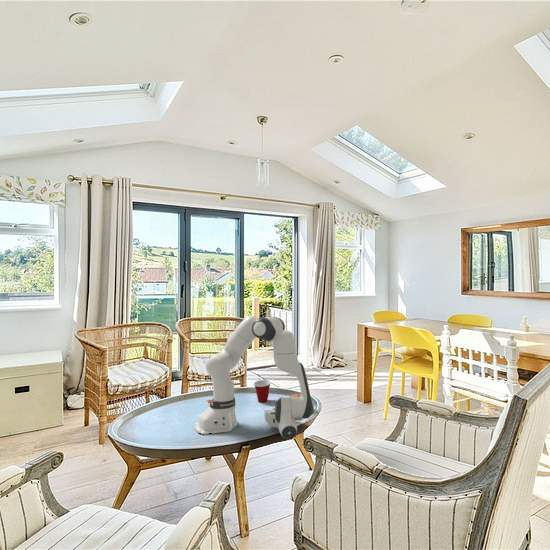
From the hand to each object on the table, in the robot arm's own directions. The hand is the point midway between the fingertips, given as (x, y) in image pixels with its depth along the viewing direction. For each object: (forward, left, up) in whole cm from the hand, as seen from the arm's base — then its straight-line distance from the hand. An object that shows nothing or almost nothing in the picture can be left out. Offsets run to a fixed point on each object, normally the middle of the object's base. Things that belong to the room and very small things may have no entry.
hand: (282, 409), depth 201 cm
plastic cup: (+3, +33, -7) cm, 34 cm away
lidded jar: (+15, +10, -7) cm, 20 cm away
